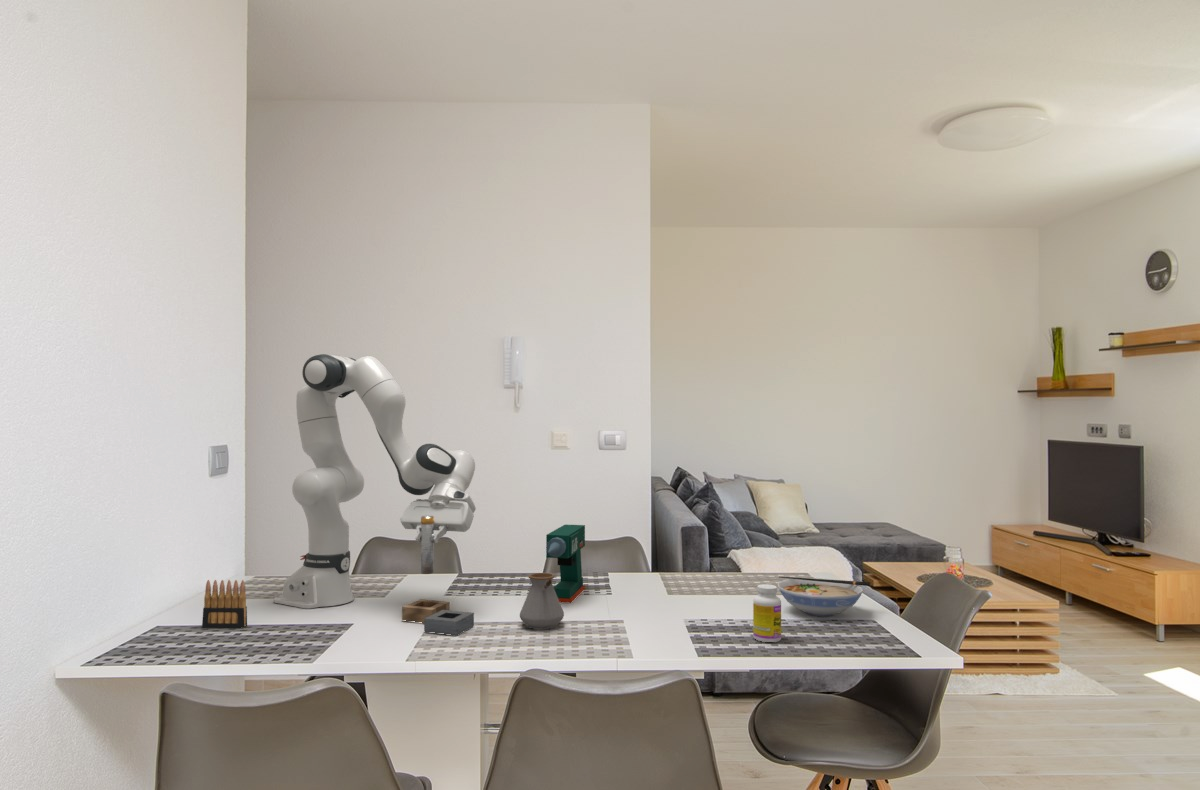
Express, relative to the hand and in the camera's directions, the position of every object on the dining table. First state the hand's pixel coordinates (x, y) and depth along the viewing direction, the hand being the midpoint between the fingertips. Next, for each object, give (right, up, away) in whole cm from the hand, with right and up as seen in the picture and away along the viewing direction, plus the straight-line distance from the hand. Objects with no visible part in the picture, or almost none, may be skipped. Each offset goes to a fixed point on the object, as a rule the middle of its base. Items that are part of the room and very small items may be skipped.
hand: (426, 541), depth 200 cm
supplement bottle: (+87, -21, -18) cm, 91 cm away
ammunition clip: (-49, -20, -9) cm, 54 cm away
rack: (0, -21, 0) cm, 21 cm away
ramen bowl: (+107, -21, +7) cm, 109 cm away
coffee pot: (+32, -21, -11) cm, 40 cm away
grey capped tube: (0, -8, 0) cm, 9 cm away
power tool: (+36, -22, +21) cm, 46 cm away
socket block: (+8, -20, -10) cm, 24 cm away
